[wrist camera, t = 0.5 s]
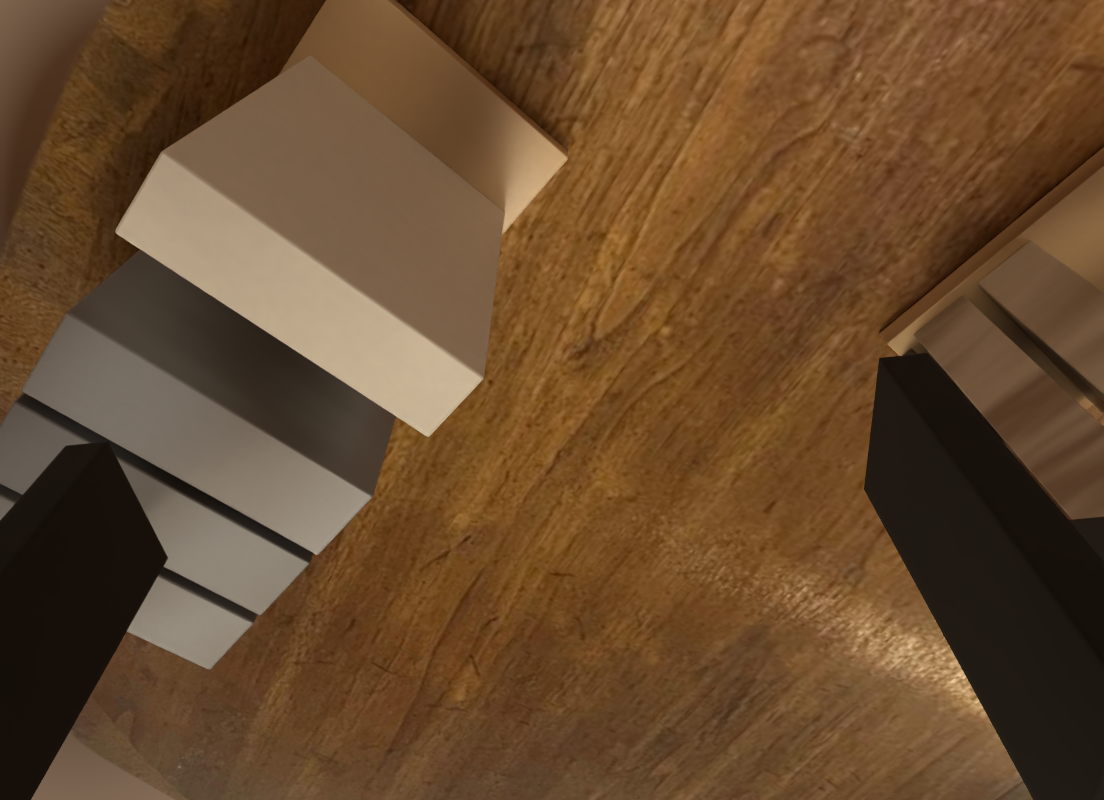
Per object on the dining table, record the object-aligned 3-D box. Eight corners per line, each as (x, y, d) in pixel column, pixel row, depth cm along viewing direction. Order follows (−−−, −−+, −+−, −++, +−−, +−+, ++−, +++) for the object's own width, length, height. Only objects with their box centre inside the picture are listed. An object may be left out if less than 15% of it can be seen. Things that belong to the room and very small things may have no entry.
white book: (274, 109, 29) (112, 233, 18) (310, 53, 28) (161, 150, 17) (467, 257, 32) (428, 438, 22) (505, 212, 32) (485, 378, 20)
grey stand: (119, 331, 35) (-96, 548, 23) (353, -37, 28) (211, 8, 16) (313, 449, 39) (211, 689, 27) (568, 151, 31) (582, 302, 19)
